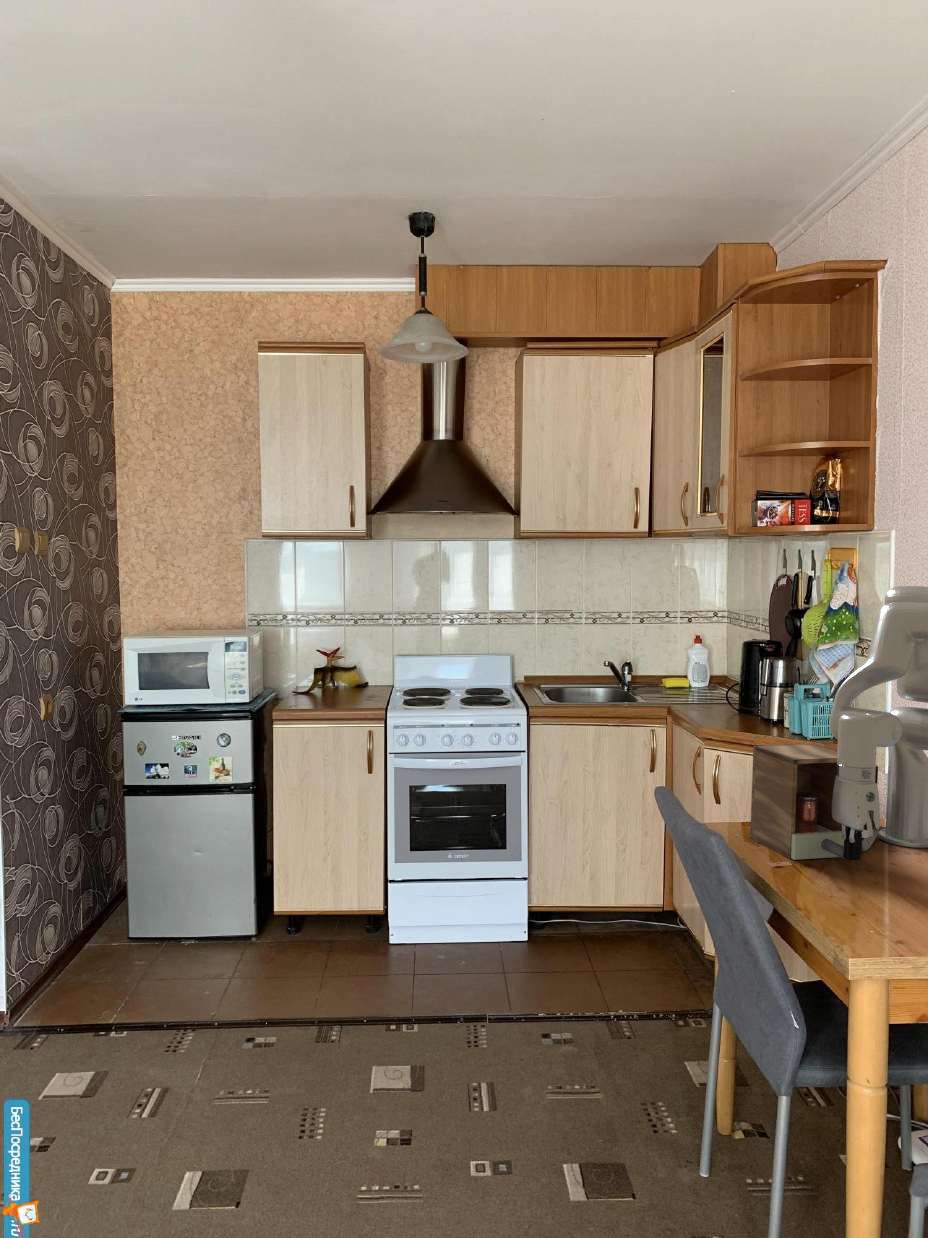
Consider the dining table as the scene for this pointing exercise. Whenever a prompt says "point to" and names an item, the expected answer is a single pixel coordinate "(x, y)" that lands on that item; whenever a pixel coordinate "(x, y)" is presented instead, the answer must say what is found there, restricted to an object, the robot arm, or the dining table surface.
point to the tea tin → (806, 812)
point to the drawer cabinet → (789, 790)
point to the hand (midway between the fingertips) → (852, 859)
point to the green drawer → (817, 844)
